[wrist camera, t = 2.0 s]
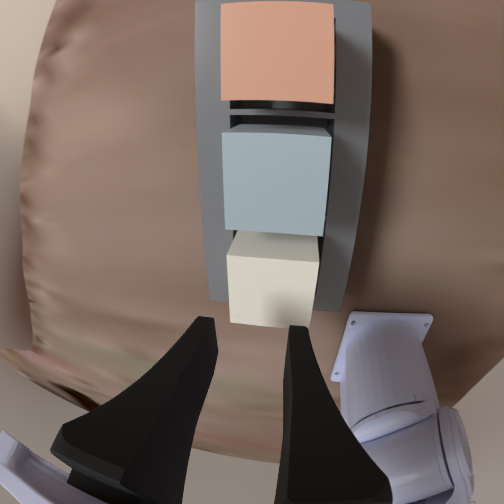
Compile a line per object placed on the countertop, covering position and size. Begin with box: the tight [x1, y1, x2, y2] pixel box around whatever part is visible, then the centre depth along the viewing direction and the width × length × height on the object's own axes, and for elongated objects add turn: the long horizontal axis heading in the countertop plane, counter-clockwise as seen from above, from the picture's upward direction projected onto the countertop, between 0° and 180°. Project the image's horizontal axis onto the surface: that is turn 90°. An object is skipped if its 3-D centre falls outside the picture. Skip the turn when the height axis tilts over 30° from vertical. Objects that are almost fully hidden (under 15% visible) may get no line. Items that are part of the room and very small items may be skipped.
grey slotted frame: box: [195, 0, 372, 312], centre depth 16 cm, size 19×9×3 cm, turn 0°
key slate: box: [222, 124, 332, 236], centre depth 13 cm, size 4×4×4 cm
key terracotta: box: [221, 1, 334, 104], centre depth 10 cm, size 4×4×4 cm
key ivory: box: [226, 230, 319, 330], centre depth 16 cm, size 4×4×4 cm
